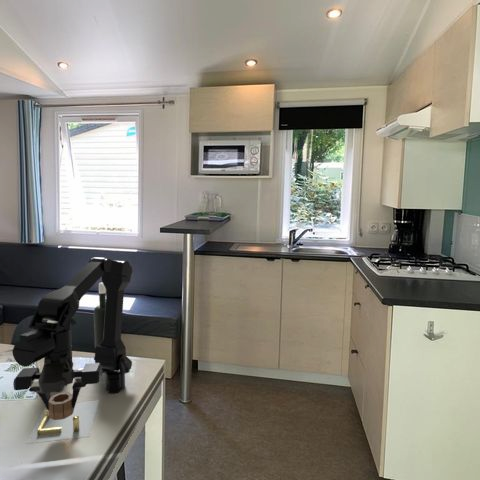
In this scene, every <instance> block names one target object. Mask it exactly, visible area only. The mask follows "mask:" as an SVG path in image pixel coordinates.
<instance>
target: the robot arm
mask: <svg viewBox="0 0 480 480" xmlns="http://www.w3.org/2000/svg"><path fill="white" fill-rule="evenodd" d="M132 274H133V267H132V265H131V264H130V262H129V261H127V260H116V259H115V260H113V259H109V258H107V257H98V256H97V257H96V256H94V257H92V258H90V259H89V261H88V263H87V264H86V265H85V266H84V267H83V268H82V269H81V270H80V271H79V272H78V273H77V274H76V275H75V276H73V278H72V279H70V280H69V281H68V282H67V283H66V284H65V285H64V286H63V287H61V288H58V289H55V290H53V291H51V292H49V293H48V294H46V295H45V296H44V297H41V299H40V301H39V302H38V305H37V307H36V310H35V312H34V314H33V316H32V319H31V321H30V323H29V325H28V330H31V331H28V332H25V333H21V334H20V335H19V340H18V341H17V342H16V343H15V344H14V345H13V348H12V353H11V354H12V357H13V359H14V361H15V362H16V364H18V365H19V366H20V367H21V366H22V367H25V368H22V369H21V370H19V373H17V375H16V376H15V377H14V379H13V390H14V391H21V390H22V391H23V390H25V391H26V390H28V391H29V392H31V393H32V392H33V393H36V394H37V395H38V396H39V397H40V399H41V400H42V403H43V404H44V406H45V407H46V408H47V410H48V411H49V404H48V401H49V399H50V397H51V395H52V393H62V391H63V390H64V388H65V386H66V387H67V386H68V385H71V384H73V385H72V386H71V388H72V394H73V396H72V408H75V405H76V403H77V401H78V397H79V395H80V391H81V389H82V388H85V387H86V386H87V385H93V384H95V385H96V384H99V383H100V381H101V378H102V375H103V373H102V372H105V373H104V380H105V382H104V385H105V386H104V388H105V390H106V392H108V394H119V393H120V392H121V391H122V390H124V389H125V387H126V374H128V373H130V372H131V369H132V365H133V361H132V360H131V359H130V358H129V357H128V356H127V354H126V353H127V352H126V345H125V344H124V342H123V339H122V325H123V310H124V298H125V297H124V295H125V289H126V288H127V287H128V285H129V284H130V282H131V279H132ZM100 279H101V282H103V284H104V286H105V288H106V306H105V320H104V334H103V340H102V342H101V343H100V344H99V346H96V348H95V347H94V358H93V361H94V362H93V363H85V364H84V367H83V368H78V369H73V368H74V367H73V366H74V362H73V345H72V328H71V327H73V326H74V325H77V324H78V321H77V320H75V319H73V317H74V316H75V314H76V312H77V311H78V310H79V308H80V301H81V300H82V298H83V297H84V296H85V295H86V293H88V292H89V291H90V289H91V288H93V286H94V285H95V284H96V283H97V282H98V281H99V280H100ZM43 320H44V321H43ZM48 320H50V321H57V322H55V323H49V322H47V321H48ZM41 360H43V367H42V370H41V372H40V368H39V367H30V366H32V365H34V364H35V363H37V362H39V361H41Z"/></svg>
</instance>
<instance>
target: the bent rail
mask: <svg viewBox="0 0 480 480" xmlns="http://www.w3.org/2000/svg"><path fill="white" fill-rule="evenodd" d="M49 418H50V417H49V411H48V410H45V417H44V419H43V421H42V423H41V425H40V426H39V428H38V430H37V436H38V435H47V434H56V433H61V432H62V430H61V427H56V428H46V429H43V428H44V426H45V424H46V422H47V420H48V419H49Z"/></svg>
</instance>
